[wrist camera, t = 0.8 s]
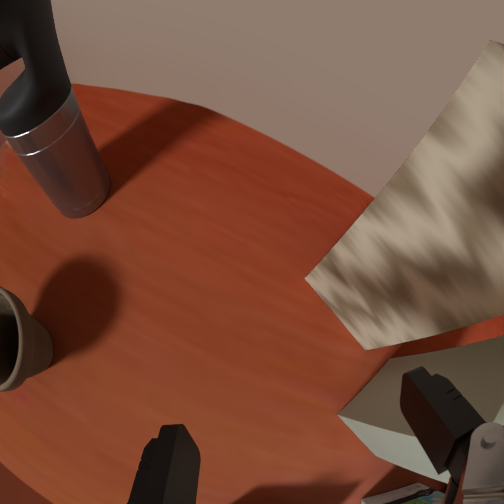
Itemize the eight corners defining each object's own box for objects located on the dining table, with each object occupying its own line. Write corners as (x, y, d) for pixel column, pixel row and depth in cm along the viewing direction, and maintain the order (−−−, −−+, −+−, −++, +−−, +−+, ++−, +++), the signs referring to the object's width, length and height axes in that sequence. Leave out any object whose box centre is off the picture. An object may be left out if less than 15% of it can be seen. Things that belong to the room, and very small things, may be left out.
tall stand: (304, 278, 35) (489, 39, 6) (354, 235, 39) (506, 45, 9) (365, 350, 33) (627, 252, 3) (408, 299, 36) (604, 175, 6)
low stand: (337, 414, 29) (477, 448, 9) (390, 358, 32) (533, 326, 12) (375, 455, 27) (507, 498, 7) (423, 400, 30) (558, 394, 10)
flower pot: (1, 371, 25) (-47, 365, 16) (16, 296, 30) (-28, 272, 20) (62, 404, 26) (15, 411, 16) (77, 319, 30) (33, 300, 21)
